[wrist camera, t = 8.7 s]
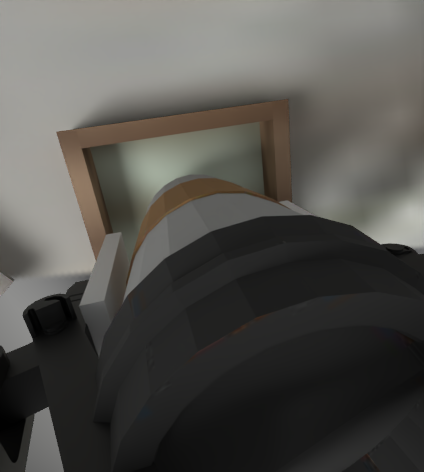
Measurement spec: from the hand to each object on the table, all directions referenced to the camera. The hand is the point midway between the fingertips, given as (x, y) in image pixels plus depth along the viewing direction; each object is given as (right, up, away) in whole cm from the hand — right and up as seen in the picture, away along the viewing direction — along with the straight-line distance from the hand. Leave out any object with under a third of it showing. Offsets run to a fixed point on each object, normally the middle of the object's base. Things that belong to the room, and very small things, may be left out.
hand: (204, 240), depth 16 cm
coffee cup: (-1, +1, +3) cm, 4 cm away
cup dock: (-1, +2, +5) cm, 6 cm away
